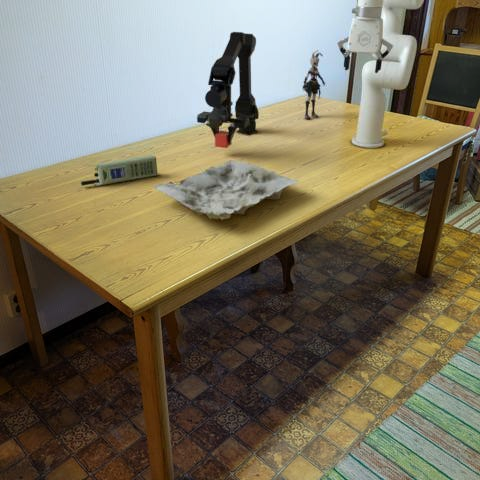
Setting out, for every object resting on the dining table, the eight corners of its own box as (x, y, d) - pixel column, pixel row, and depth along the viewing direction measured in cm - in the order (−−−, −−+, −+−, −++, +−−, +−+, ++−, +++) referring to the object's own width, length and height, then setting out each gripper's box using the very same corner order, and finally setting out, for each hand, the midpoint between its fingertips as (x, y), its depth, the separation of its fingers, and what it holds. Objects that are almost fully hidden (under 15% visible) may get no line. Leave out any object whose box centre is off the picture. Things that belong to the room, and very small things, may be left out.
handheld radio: (158, 176, 170) (83, 189, 160) (155, 173, 172) (80, 186, 162) (156, 157, 167) (79, 169, 157) (153, 154, 169) (77, 166, 159)
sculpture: (145, 207, 151) (219, 236, 133) (144, 188, 148) (218, 215, 130) (230, 174, 176) (301, 195, 158) (230, 157, 173) (302, 177, 155)
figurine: (304, 121, 228) (309, 51, 213) (294, 118, 232) (298, 49, 217) (325, 115, 237) (331, 47, 222) (315, 113, 240) (320, 46, 226)
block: (220, 142, 190) (220, 130, 188) (231, 144, 189) (231, 132, 186) (215, 146, 186) (214, 134, 184) (226, 148, 185) (226, 135, 182)
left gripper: (189, 102, 176) (190, 145, 184) (238, 108, 170) (238, 153, 177) (203, 95, 185) (204, 136, 193) (250, 101, 179) (249, 143, 186)
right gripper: (338, 13, 155) (332, 70, 164) (396, 15, 149) (387, 75, 158) (343, 10, 161) (337, 66, 170) (399, 13, 155) (390, 71, 164)
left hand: (223, 142), depth 187 cm, fingers closed on block, 4 cm apart
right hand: (361, 70), depth 164 cm, fingers open, 9 cm apart
